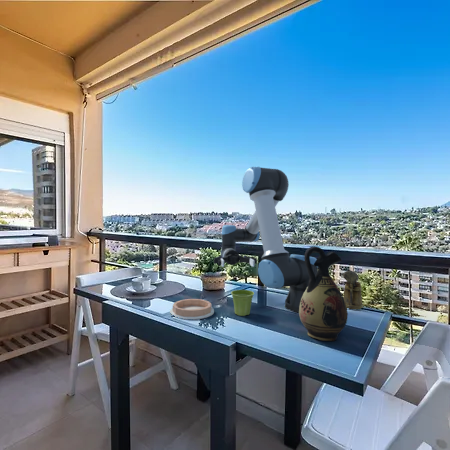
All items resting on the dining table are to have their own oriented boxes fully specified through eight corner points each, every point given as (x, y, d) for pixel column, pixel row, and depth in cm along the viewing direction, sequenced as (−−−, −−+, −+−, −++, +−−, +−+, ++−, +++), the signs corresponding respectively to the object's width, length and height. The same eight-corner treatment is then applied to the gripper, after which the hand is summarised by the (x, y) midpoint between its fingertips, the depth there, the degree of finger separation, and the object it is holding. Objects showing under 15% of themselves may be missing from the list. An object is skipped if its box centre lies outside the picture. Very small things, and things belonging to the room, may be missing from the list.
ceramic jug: (335, 326, 106) (337, 245, 105) (355, 345, 91) (358, 250, 90) (288, 326, 106) (290, 244, 105) (301, 345, 90) (303, 249, 89)
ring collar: (222, 310, 123) (222, 302, 123) (196, 322, 108) (196, 314, 107) (189, 302, 132) (189, 295, 132) (160, 313, 117) (160, 305, 117)
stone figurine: (337, 310, 125) (338, 268, 125) (343, 302, 136) (344, 264, 136) (359, 314, 120) (361, 271, 120) (364, 306, 132) (365, 266, 131)
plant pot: (252, 318, 113) (253, 296, 113) (228, 316, 115) (229, 294, 115) (254, 311, 122) (255, 290, 122) (232, 309, 124) (233, 289, 124)
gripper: (254, 263, 151) (265, 272, 130) (206, 263, 148) (210, 272, 127) (255, 249, 151) (266, 255, 130) (206, 249, 147) (210, 255, 126)
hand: (238, 263), depth 128 cm, fingers open, 13 cm apart
